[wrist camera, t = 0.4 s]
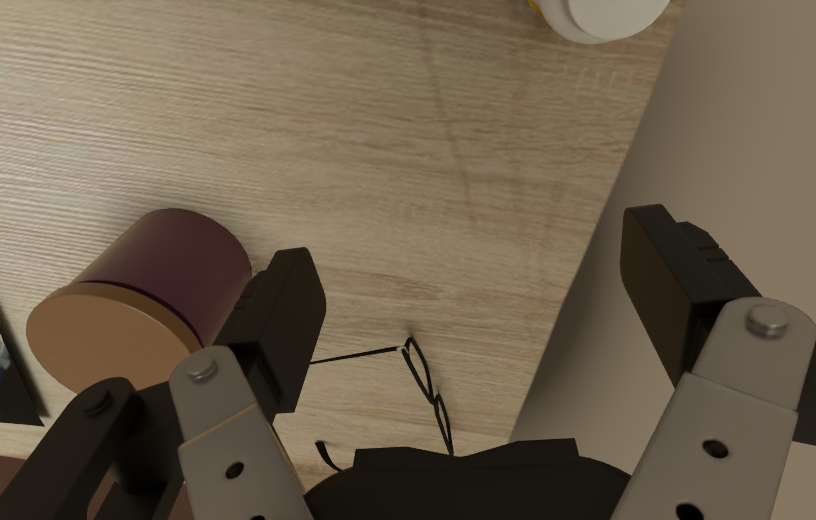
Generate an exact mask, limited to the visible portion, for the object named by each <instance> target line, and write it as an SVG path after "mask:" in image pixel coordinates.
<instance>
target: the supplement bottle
mask: <svg viewBox="0 0 816 520" xmlns="http://www.w3.org/2000/svg"><path fill="white" fill-rule="evenodd" d="M526 1H527V3H528V4H529V5H530V7H531V8H532V9H533V10H534V11H535V12H536V13H537V14H538V15H539V16H540V17H541V18H542V19H543V20H544V21H545V22H546V23H547V24H548V25H549V26H550V28H552V29H553V30H554V31H555V32H556V33H558V34H559V35H561V36H562V37H564V38H566V39H568V40H570V41H573V42H576V43H580V44H600V43H605V42H609V41H611V40H618V39H623V38H627V37H630V36H632V35H634V34H636V33H639V32H640V31H642V30H643V29H645V28H646V27H648V26H649V25H650V24H651V23H653V22H654V21H655V20H656V19H657V18H658V17H659V16H660V14H661V13H662V12H663V11H664V9H665V8H666V7H667V5H668V3H669V2H670V0H526Z"/></svg>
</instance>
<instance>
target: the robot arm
mask: <svg viewBox="0 0 816 520" xmlns="http://www.w3.org/2000/svg"><path fill="white" fill-rule="evenodd" d="M620 255H621V256H620V271H621V277H622V281H623V284H624V286H625V289H626V291H627V293H628V295H629V297H630V299H631V301H632V303H633V305H634V307H635V309H636V311H637V313H638V315H639V317H640V319H641V321H642V323H643V325H644V327H645V329H646V331H647V333H648V335H649V337H650V340H651V342H652V343H653V346H654V348H655V350H656V351H657V354H658V356H659V358H660V360H661V361H662V364H663V366H664V368H665V370H666V372H667V374H668V376H669V378H670V380H671V382H672V384H673V386H674V388H675V391H674V392H673V395H672V396H671V398H670V401H669V403H668V404H667V407H666V409H665V410H664V412H663V414H662V416H661V419H660V421H659V423H658V425H657V427H656V429H655V431H654V432H653V435H652V436H651V438H650V440H649V442H648V444H647V446H646V449H645V450H644V452H643V455H642V457H641V458H640V460H639V462H638V464H637V466H636V468H635V470H634V472H633V474H632V476H631V475H629V474H628V473H626V472H624V471H622V470H620V469H618V468H616V467H613V466H611V465H609V464H606V463H604V462H601V461H598V460H594V459H591V458H586V457H581V456H579V453H578V449H577V445H576V441H575V438H567V439H548V440H529V441H516V442H513V443H509V444H506V445H502V446H499V447H496V448H492V449H489V450H485V451H482V452H478V453H475V454H472V455H468V456H464V457H458V456H452V455H447V454H442V453H437V452H431V451H426V450H421V449H416V448H411V447H389V448H369V449H356V451H355V457H354V462H353V467H350V468H347V469H345V470H342V471H340V472H338V473H335V474H333V475H332V476H330V477H328V478H326V479H324V480H323V481H321V482H320V483H319V484H317V485H316V486H314V487H313V488H312V489H310V490H309V491H308V492H307V491H306V489H305V487H304V485H303V484H302V482H301V480H300V478H299V476H298V474H297V472H296V470H295V468H294V466H293V464H292V462H291V460H290V458H289V456H288V454H287V452H286V450H285V448H284V446H283V444H282V442H281V440H280V438H279V436H278V434H277V432H276V430H275V428H274V426H273V425H272V424H273V421H274V418H275V416H276V414H279V413H294V412H295V408H296V405H297V402H298V399H299V396H300V393H301V390H302V387H303V383H304V380H305V377H306V374H307V371H308V368H309V365H310V361H311V358H312V355H313V352H314V349H315V346H316V343H317V340H318V336H319V333H320V330H321V327H322V324H323V321H324V318H325V314H326V298H325V293H324V290H323V287H322V285H321V282H320V279H319V276H318V273H317V271H316V268H315V265H314V262H313V260H312V257H311V254H310V252H309V250H308V249H307V248H305V247H301V248H293V249H285V250H278V251H277V252H276V253H275V254H274V256H273V258H272V260H271V262H270V264H269V266H268V268H267V269H266V270H262V271H260V272H259V273H258V274H257V275H256V276H255V277H253V278H252V279H251V280H250V281H249V282H248V283H247V284H246V286H245V288H244V289H243V291H242V293H241V295H240V299H238V300H237V302H236V304H235V305H234V307H233V310H232V311H231V312H230V314H229V316H228V318H227V319H226V321H225V323H224V325H223V326H222V328H221V330H220V332H219V333H218V335H217V337H216V339H215V340H214V342H213V344H212V346H210V347H206V348H203V349H200V350H198V351H196V352H194V353H192V354H191V355H189V356H188V357H186V358H185V359H184V360H182V361H181V362H180V363H179V364H178V365H177V366H176V368H175V369H174V370H173V372H172V374H171V376H170V378H169V380H168V381H165V382H162V383H159V384H156V385H153V386H150V387H147V388H144V389H141V390H138V391H137V390H136V389H135V388H134V386H133V385H132V384H131V382H130V381H129V380H128V379H127V378H124V377H112V378H107V379H104V380H101V381H99V382H97V383H95V384H93V385H91V386H89V387H88V388H86V389H85V390H83V391H82V392H80V393H79V394H78V395H77V396H76V397H75V398H74V399H73V400H72V401H71V402H70V403H69V404H68V405H67V406H66V408H65V409H64V411H63V412H62V413H61V415H60V416H59V417H58V419H57V420H56V421H55V423H54V424H53V425H52V427H51V428H50V429H49V431H48V432H47V433H46V435H45V436H44V438H43V439H42V440H41V442H40V443H39V444H38V446H37V447H36V448H35V450H34V451H33V452H32V454H31V455H30V456H29V458H28V459H27V461H26V462H25V463H24V465H23V466H22V467H21V469H20V470H19V471H18V473H17V474H16V475H15V477H14V478H13V480H12V481H11V482H10V484H9V485H8V486H7V488H6V489H5V490H4V492H3V493H2V494H1V496H0V520H87V509H88V505H89V503H90V501H91V499H92V497H93V495H94V494H95V492H96V490H97V488H98V487H99V485H100V483H101V481H102V480H103V478H104V476H105V474H106V473H109V475H110V476H111V477H112V478H113V479H114V480H115V482H114V484H113V485H112V487H111V489H110V491H109V493H108V495H107V496H106V498H105V500H104V502H103V504H102V505H101V507H100V509H99V511H98V513H97V515H96V516H95V518H94V520H168V517H169V515H170V512H171V510H172V508H173V506H174V503H175V501H176V498H177V496H178V494H179V491H180V489H181V487H182V484H183V482H184V480H185V484H186V488H187V492H188V495H189V500H190V503H191V507H192V511H193V515H194V519H195V520H770V518H771V514H772V511H773V507H774V504H775V500H776V496H777V493H778V489H779V485H780V481H781V478H782V474H783V471H784V467H785V463H786V459H787V456H788V452H789V448H790V445H791V441H795V442H800V443H805V444H810V445H815V446H816V325H815V323H814V322H813V320H812V319H811V318H810V317H809V316H808V315H807V314H805V313H804V312H803V311H801V310H800V309H798V308H796V307H794V306H792V305H789V304H787V303H785V302H782V301H779V300H775V299H770V298H764V297H763V296H762V295H761V294H760V293H759V292H758V291H757V289H755V287H754V286H753V285H752V284H751V282H750V281H749V280H748V279H747V278H746V277H745V276H744V274H743V273H742V272H741V271H740V270H739V268H738V267H737V266H736V265H735V264H734V263H733V261H732V260H729V257H728V256H727V255H726V253H725V252H724V251H723V250H722V249H721V248H720V249H719V245H718V244H717V243H716V242H715V240H714V239H713V238H712V237H711V236H710V235H709V234H708V232H706V231H704V230H702V229H701V228H699V227H697V226H695V225H693V224H691V223H689V222H688V221H687V222H679V223H676V221H675V220H674V219H673V218H672V216H671V215H670V214H669V212H668V211H667V210H666V209H665V207H664V206H663V205H661V204H654V205H646V206H638V207H630V208H626V210H625V212H624V216H623V228H622V242H621V254H620Z"/></svg>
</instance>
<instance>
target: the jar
mask: <svg viewBox="0 0 816 520" xmlns="http://www.w3.org/2000/svg"><path fill="white" fill-rule="evenodd" d="M250 280H251V267H250V262H249V260H248V257H247V255H246V253H245V251H244V249H243V248H242V246H241V245H240V243H239V242H238V241H237V240H236V239H235V237H234V236H233V235H232V234H231V233H229V232H228V231H227V230H226V229H225V228H223V227H222V226H221V225H219V224H218V223H216V222H215V221H213V220H211V219H209V218H207V217H205V216H203V215H200V214H197V213H195V212H191V211H187V210H180V209H162V210H157V211H153V212H150V213H148V214H146V215H144V216H143V217H141V218H140V219H139V220H138V221H137V222H135V223H134V224H133V225H132V226H131V227H130V228H129V229H128V230H127V231H126V232H125V233H124V234H122V235H121V236H120V237H119V238H118V239H117V240H116V241H115V242H114V243H113V244H112V245H111V246H109V247H108V248H107V249H106V250H105V251H104V252H103V253H102V254H101V255H100V256H99V257H98V258H96V259H95V260H94V261H93V262H92V263H91V264H90V265H89V266H88V267H87V268H86V269H84V270H83V271H82V272H81V273H80V274H79V275H78V276H77V277H76V278H75V279H74V280H73V281H71V282H70V283H69V284H68V285H67V286H64V287H62V288H59V289H57V290H55V291H54V292H52V293H51V294H49V295H48V296H47V297H46V298H45V299H44V300H43V301H42V302H41V303H40V304H38V305H37V306H36V307H35V308H34V309H33V311H32V312H31V313H30V315H29V318H28V320H27V325H26V336H27V340H28V343H29V346H30V348H31V350H32V352H33V354H34V356H35V357H36V359H37V360H38V362H39V363H40V364H41V365H42V366H43V368H44V369H45V370H46V371H47V372H48V373H49V374H50V375H51V376H52V377H54V378H55V379H56V380H57V381H58V382H60V383H61V384H62V385H64V386H65V387H67V388H68V389H70V390H71V391H73V392H74V393H76V394H79V393H80V392H82V391H83V390H85V389H86V388H88V387H89V386H91V385H93V384H95V383H97V382H99V381H101V380H104V379H107V378H112V377H124V378H127V379H128V380H129V381H130V382H131V384H132V385H133V386H134V388H135V389H136V390H137V391H138V390H141V389H144V388H147V387H150V386H153V385H156V384H159V383H162V382H165V381H168V380H169V378H170V376H171V374H172V372H173V370H174V369H175V368H176V366H177V365H178V364H179V363H180V362H181V361H182V360H184V359H185V358H186V357H188V356H189V355H191V354H192V353H194V352H196V351H198V350H200V349H203V348H206V347H210V346H212V344H213V342H214V340H215V339H216V337H217V335H218V333H219V332H220V330H221V328H222V326H223V325H224V323H225V321H226V319H227V318H228V316H229V314H230V312H231V311H232V310H233V307H234V305H235V304H236V302H237V300H238V299H240V295H241V293H242V291H243V289H244V288H245V286H246V284H247V283H248V282H249V281H250Z"/></svg>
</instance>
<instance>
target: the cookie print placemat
mask: <svg viewBox="0 0 816 520" xmlns="http://www.w3.org/2000/svg"><path fill="white" fill-rule="evenodd" d="M0 422H1V423H13V424H25V425H35V426H44V424H43V423H42V421H41V419H40V418H39V416H38V414H37V412H36V410H35V408H34V406H33V404H32V402H31V400H30V397H29V395H28V393H27V391H26V388H25V386H24V384H23V382H22V380H21V377H20V375H19V373H18V371H17V369H16V367H15V365H14V363H13V361H12V359H11V357H10V355H9V353H8V351H7V349H6V347H5V344H4V342H3V340H2V337H1V335H0ZM44 427H45V426H44Z"/></svg>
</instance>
